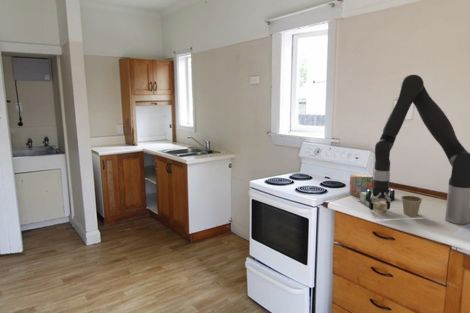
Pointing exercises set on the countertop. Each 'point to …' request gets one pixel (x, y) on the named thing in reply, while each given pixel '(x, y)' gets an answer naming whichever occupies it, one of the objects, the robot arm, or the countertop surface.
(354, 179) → the stack of blocks
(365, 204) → the build mat
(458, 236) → the countertop surface
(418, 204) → the flower pot
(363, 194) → the sage block far
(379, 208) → the maple block
